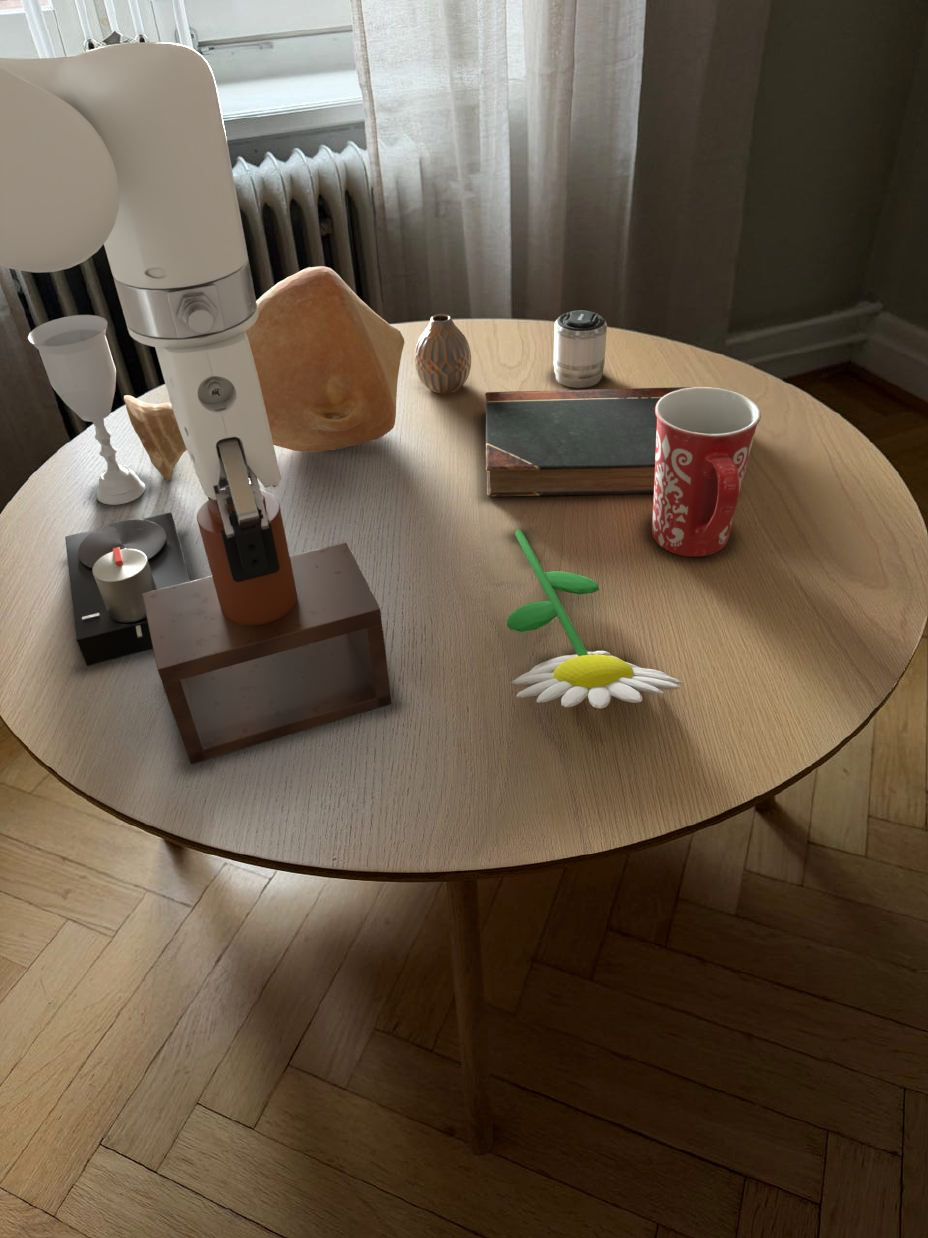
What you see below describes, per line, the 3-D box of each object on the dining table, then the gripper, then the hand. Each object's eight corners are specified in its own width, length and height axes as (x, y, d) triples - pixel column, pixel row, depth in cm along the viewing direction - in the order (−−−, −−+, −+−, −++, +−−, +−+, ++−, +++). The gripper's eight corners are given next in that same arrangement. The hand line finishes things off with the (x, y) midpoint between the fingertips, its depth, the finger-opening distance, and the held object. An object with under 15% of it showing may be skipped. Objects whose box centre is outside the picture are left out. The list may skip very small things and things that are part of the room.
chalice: (137, 466, 102) (88, 308, 90) (167, 490, 98) (120, 328, 87) (75, 492, 99) (16, 331, 87) (103, 518, 95) (45, 353, 83)
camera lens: (606, 368, 117) (610, 307, 112) (599, 391, 112) (604, 329, 107) (557, 364, 118) (559, 304, 113) (548, 387, 113) (550, 325, 108)
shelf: (190, 765, 69) (157, 669, 63) (173, 687, 76) (141, 593, 69) (392, 704, 73) (380, 608, 67) (360, 635, 80) (346, 541, 73)
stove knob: (164, 614, 78) (149, 569, 75) (110, 628, 77) (93, 583, 74) (156, 584, 81) (142, 540, 78) (105, 598, 80) (88, 553, 77)
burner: (81, 581, 82) (80, 579, 82) (75, 533, 88) (74, 531, 87) (172, 559, 84) (171, 556, 84) (161, 514, 90) (160, 511, 89)
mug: (633, 510, 93) (646, 387, 84) (723, 506, 93) (745, 383, 84) (658, 590, 83) (676, 460, 74) (758, 585, 83) (787, 455, 74)
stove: (88, 680, 77) (76, 652, 75) (74, 561, 89) (64, 534, 87) (208, 647, 79) (200, 619, 77) (178, 536, 92) (171, 510, 90)
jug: (445, 376, 90) (145, 477, 85) (430, 452, 109) (183, 539, 103) (369, 206, 93) (76, 292, 88) (367, 308, 112) (124, 384, 106)
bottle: (228, 634, 65) (197, 517, 59) (214, 588, 69) (184, 474, 63) (305, 613, 67) (283, 497, 60) (287, 570, 71) (265, 456, 64)
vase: (483, 384, 114) (482, 315, 109) (445, 404, 111) (441, 335, 105) (443, 368, 118) (440, 301, 112) (405, 387, 114) (399, 319, 109)
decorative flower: (455, 565, 90) (531, 768, 66) (454, 521, 88) (534, 715, 63) (579, 553, 92) (699, 746, 68) (583, 509, 90) (709, 693, 65)
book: (486, 498, 95) (729, 493, 94) (485, 468, 93) (735, 463, 92) (485, 416, 108) (699, 411, 108) (485, 388, 106) (703, 382, 105)
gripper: (286, 342, 48) (330, 607, 60) (226, 240, 60) (273, 477, 72) (139, 370, 46) (215, 638, 58) (108, 259, 58) (176, 499, 70)
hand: (246, 547), depth 65 cm, fingers closed on bottle, 5 cm apart
